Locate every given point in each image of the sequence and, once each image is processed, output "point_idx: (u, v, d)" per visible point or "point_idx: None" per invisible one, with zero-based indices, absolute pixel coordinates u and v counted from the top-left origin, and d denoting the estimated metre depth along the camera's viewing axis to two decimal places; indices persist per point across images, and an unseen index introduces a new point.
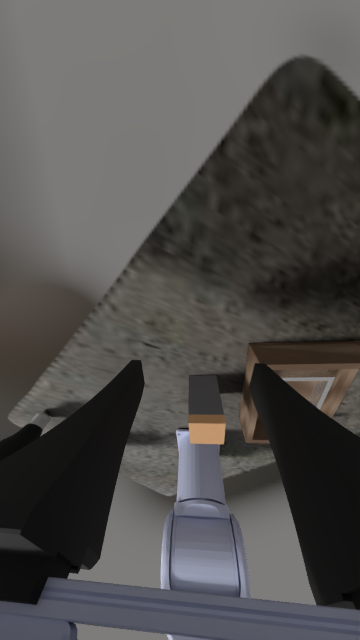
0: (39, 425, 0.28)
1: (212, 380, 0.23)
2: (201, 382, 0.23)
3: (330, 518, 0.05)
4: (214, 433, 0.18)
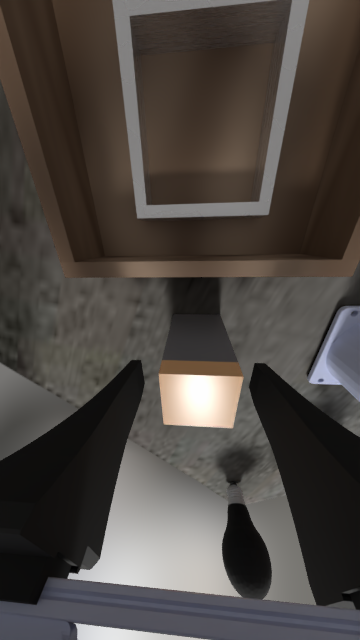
0: (233, 502, 0.25)
1: None
2: None
3: (330, 518, 0.05)
4: (196, 392, 0.08)
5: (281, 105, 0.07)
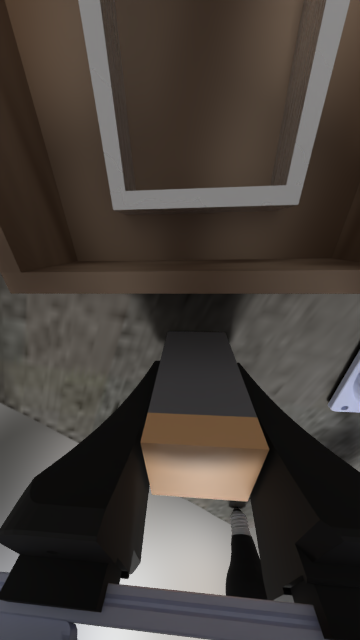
0: (238, 532, 0.22)
1: None
2: None
3: (276, 514, 0.05)
4: (197, 463, 0.06)
5: (330, 26, 0.04)
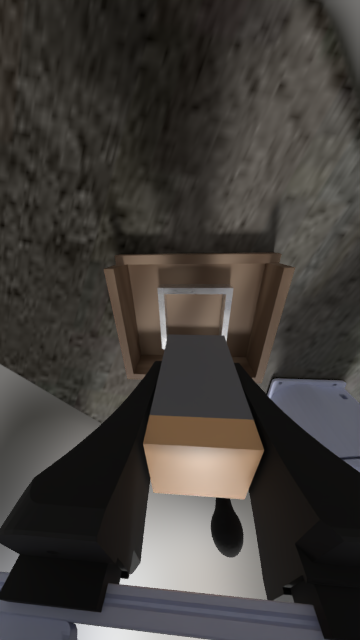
0: None
1: None
2: None
3: (276, 514, 0.05)
4: (196, 463, 0.06)
5: (226, 318, 0.17)
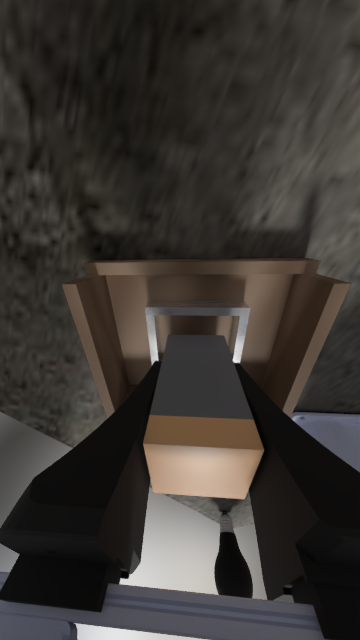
0: (224, 530, 0.30)
1: None
2: None
3: (276, 514, 0.05)
4: (196, 463, 0.06)
5: (238, 346, 0.12)
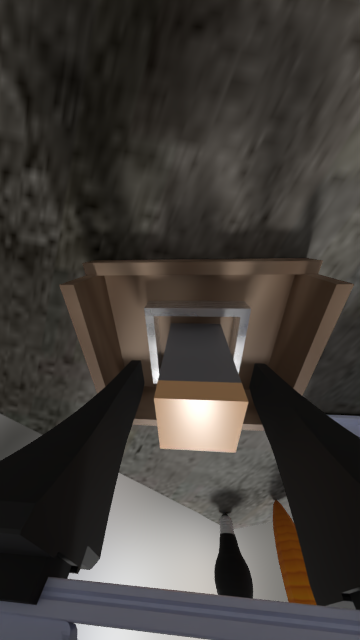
0: (224, 531, 0.30)
1: None
2: None
3: (330, 518, 0.05)
4: (195, 416, 0.07)
5: (238, 348, 0.12)
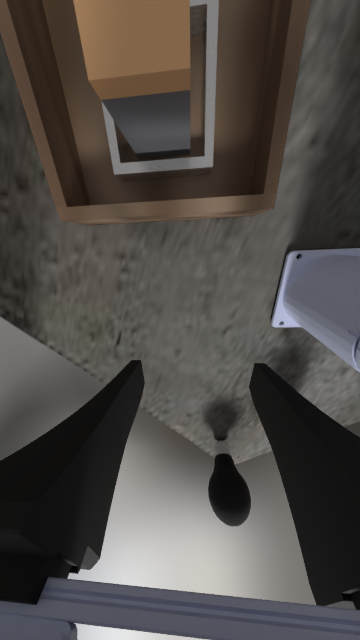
0: (220, 452, 0.27)
1: None
2: None
3: (330, 518, 0.05)
4: None
5: (210, 79, 0.10)
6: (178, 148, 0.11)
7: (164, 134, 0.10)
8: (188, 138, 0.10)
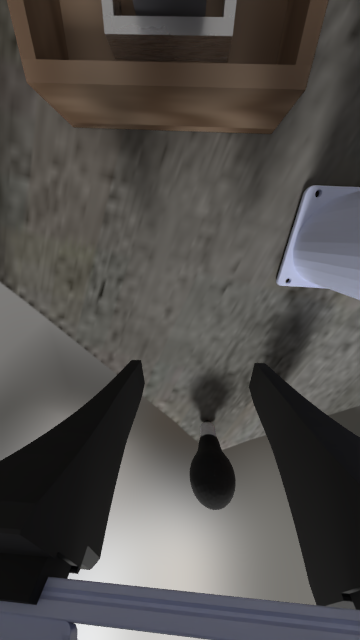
0: (205, 433, 0.25)
1: None
2: None
3: (330, 518, 0.05)
4: None
5: None
6: (190, 5, 0.09)
7: None
8: None
